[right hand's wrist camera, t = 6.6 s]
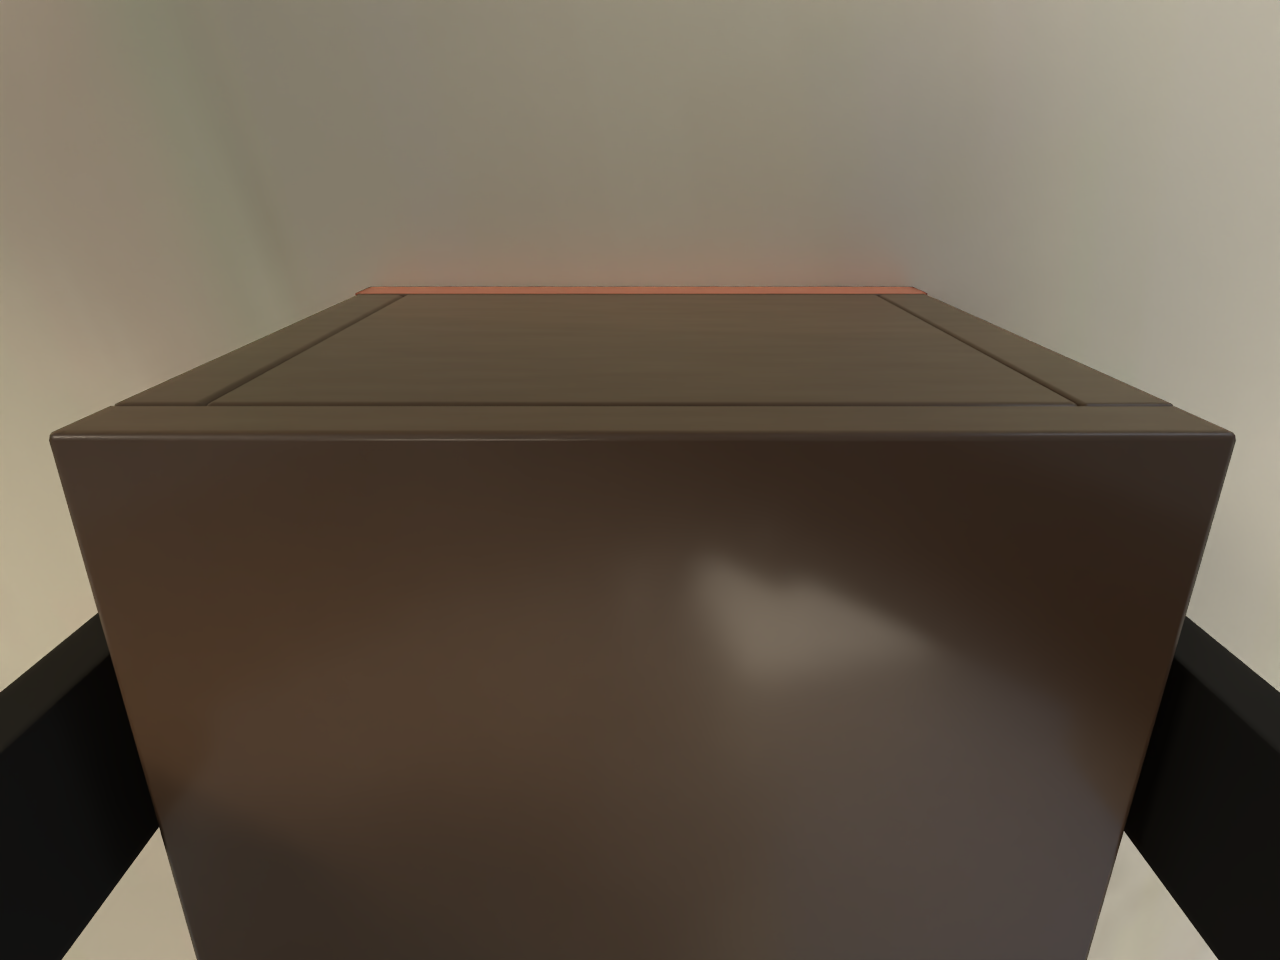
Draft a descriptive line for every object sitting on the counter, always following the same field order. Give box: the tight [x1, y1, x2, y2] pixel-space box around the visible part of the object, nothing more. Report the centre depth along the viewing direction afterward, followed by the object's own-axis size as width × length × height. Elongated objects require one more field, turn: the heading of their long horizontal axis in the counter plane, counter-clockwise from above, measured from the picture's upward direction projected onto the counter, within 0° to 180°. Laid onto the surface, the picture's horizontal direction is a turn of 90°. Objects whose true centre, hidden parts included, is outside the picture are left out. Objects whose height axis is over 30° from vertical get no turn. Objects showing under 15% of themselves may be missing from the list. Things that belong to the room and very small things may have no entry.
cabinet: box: [49, 287, 1236, 960], centre depth 15 cm, size 18×11×10 cm, turn 0°
